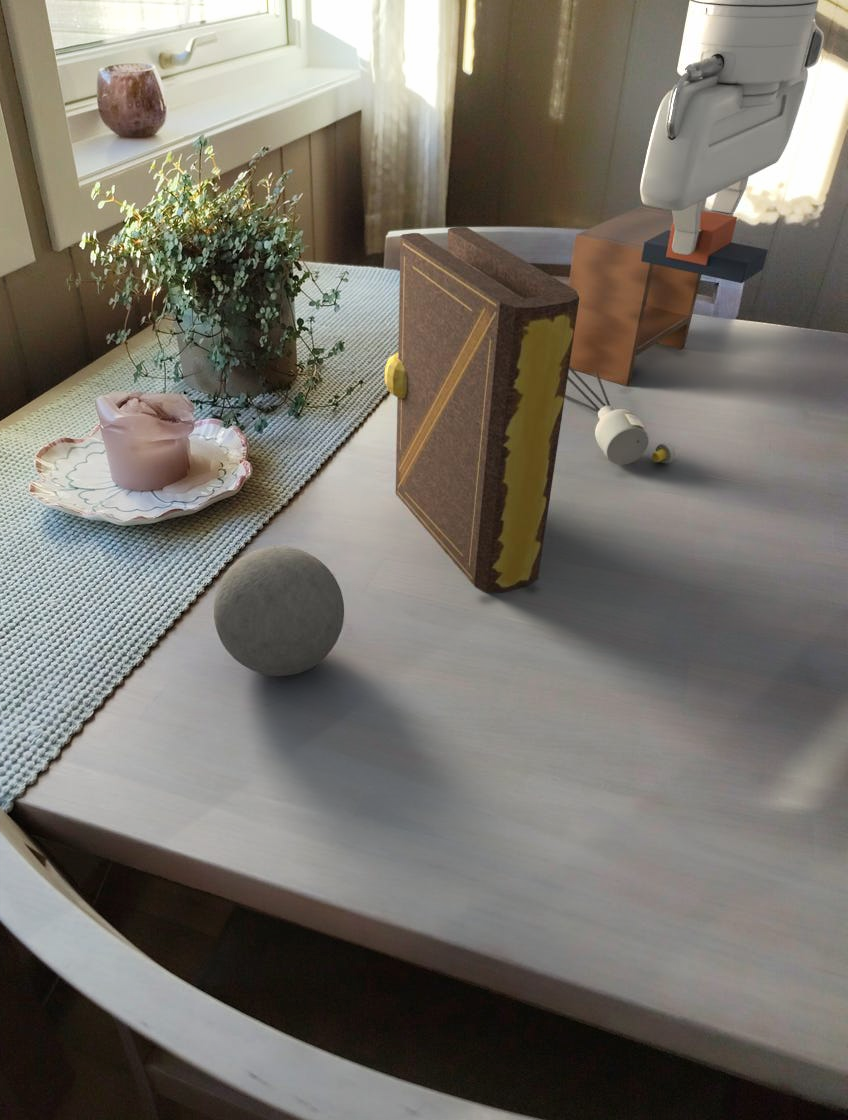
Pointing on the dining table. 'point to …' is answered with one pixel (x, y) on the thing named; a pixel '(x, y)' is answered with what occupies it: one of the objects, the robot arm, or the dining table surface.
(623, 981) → the dining table surface
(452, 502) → the book
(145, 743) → the dining table surface
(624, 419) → the reed diffuser
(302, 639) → the decorative ball
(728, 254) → the cube on dark base
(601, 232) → the rack
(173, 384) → the dining table surface
